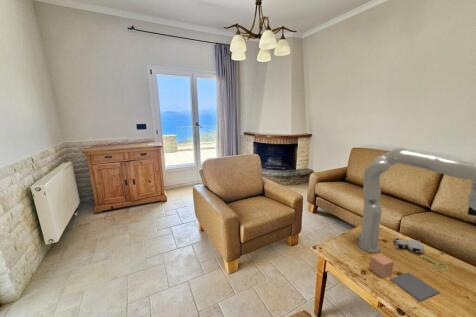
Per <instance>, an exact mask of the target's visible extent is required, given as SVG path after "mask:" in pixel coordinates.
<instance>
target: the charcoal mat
mask: <svg viewBox="0 0 476 317" xmlns="http://www.w3.org/2000/svg"><path fill="white" fill-rule="evenodd" d="M389 281H391V282H392V283H394V284H395V285H396V286H397V287H399V288H400V289H401V290H403V291H405V292H406V293H407V294H409V295H410V296H412V298H414V299H416V300H417V301H419V302H420V303H421V302H423V301H424V300H428V299H429V298H432V297H434V296H437V295H439V294H440V293H441V292H440V291H439V290H437V289H435V288H434V287H432V286H431V285H430V284H428V283H426V282H425V281H422V280H421V279H420V278H418V277H417V276H416V275H414V274H412V273H410V272H409V271H407V272H406V273H405V272H404V273H402V274H399V275H397V276H394V277H392V278H390V279H389Z"/></svg>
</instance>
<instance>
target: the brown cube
mask: <svg viewBox="0 0 476 317" xmlns="http://www.w3.org/2000/svg"><path fill="white" fill-rule="evenodd" d="M393 268H394V261H393V260H391V259H390V258H389V257H387V256H385V255H384V254H382V253H378V254H373V255H371V256H370V260H369V270H371V271H372V272H373V273H374V274H376V275H377V276H378V277H380V278H381V279H383V278H386V277H389V276H392V275H393Z"/></svg>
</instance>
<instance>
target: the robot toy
mask: <svg viewBox="0 0 476 317" xmlns="http://www.w3.org/2000/svg"><path fill="white" fill-rule="evenodd" d="M393 240H394V241H393V244H394V245H395V247H394V248H396V249H408V250H410V251H411V252H412V253H413V252H414V253H416V254H417V253H420V254H421V253H424V252H426V250H424V249H425V248H424V247H425V246H424V245H423V243H421V240H413V239H409V240H403V239H400V238H397V237H395V238H393Z"/></svg>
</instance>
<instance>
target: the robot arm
mask: <svg viewBox="0 0 476 317" xmlns="http://www.w3.org/2000/svg"><path fill="white" fill-rule="evenodd" d="M397 164H400V165H403V166H408V167H414V168H419V169H422V170H427V171H430V172H433V173H434V172H435V173H438V174H441V175H445V176H448V177H449V176H450V177H453V178H457V179H463V180H472V181H471V185H470V191H469V195H468V199H467V205H468V210H467V215H468V216H473V217H476V162H471V161H470V162H469V161H462V160H461V161H460V160H459V161H452V160H449V159H445V158H442V157H440V156H437V155H434V154H432V153H431V154H430V153H424V152H418V151H413V150H408V149H407V148H404V147H398V148H396V149H393V150H391V151H388V152H386V153H383V154H381V155H379V156H377V157H375V158H374V159H373V161H372V163H371V164H369V165H368V166H367V167H366V168H365V170H364V171H363V172H364V173H363V188H362V189H363V212H362V221H361V222H362V224H361V231H360V233H358V234H357V235H356V237H355V238H357V239H358V241H357V246H358V247H359V248H360V249H362V250H363V251H365V252H368V253H379V252H380V250H381V247H380V245H379V244H378V243H379V236H380V228H381V227H380V225H381V218H382V212H383V211H382V204H381V193H382V191H381V185H380V184H381V182H380V181H381V176H382V175H383V174H385V173H387V172H388V171H389V170H390V168H391V166H394V165H397ZM475 223H476V220H475Z"/></svg>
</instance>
